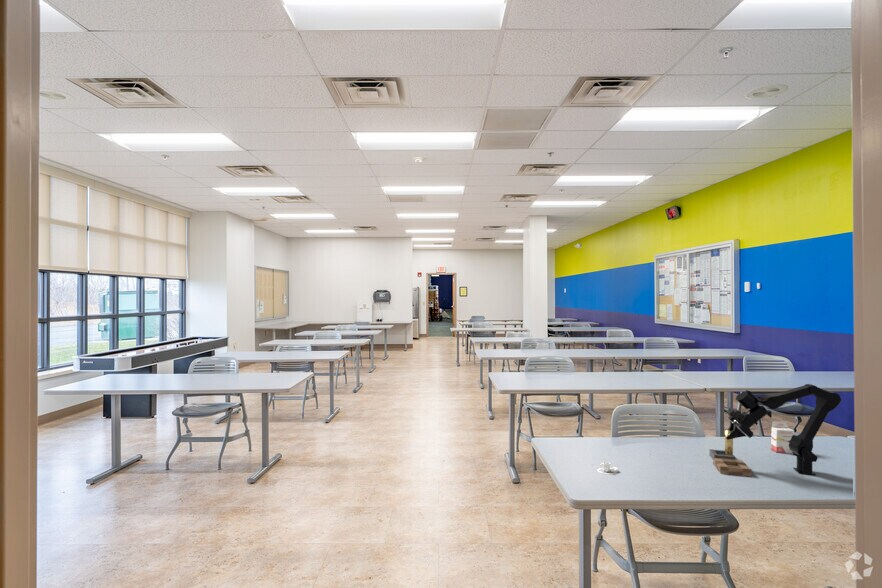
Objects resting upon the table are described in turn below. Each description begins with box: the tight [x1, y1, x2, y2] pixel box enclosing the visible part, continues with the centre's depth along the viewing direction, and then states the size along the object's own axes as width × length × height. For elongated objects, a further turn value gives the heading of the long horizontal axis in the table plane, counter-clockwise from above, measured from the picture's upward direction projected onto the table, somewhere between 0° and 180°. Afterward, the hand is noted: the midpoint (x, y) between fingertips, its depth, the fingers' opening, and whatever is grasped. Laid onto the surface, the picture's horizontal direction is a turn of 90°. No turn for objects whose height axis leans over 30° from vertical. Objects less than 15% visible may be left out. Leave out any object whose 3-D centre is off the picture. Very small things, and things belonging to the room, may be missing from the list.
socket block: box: [709, 448, 737, 460], centre depth 231 cm, size 9×9×3 cm
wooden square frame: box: [712, 458, 752, 477], centre depth 217 cm, size 12×12×3 cm
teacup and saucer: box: [596, 461, 619, 475], centre depth 215 cm, size 9×8×4 cm
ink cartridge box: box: [770, 421, 795, 454], centre depth 243 cm, size 9×5×15 cm, turn 84°
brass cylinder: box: [724, 429, 734, 456], centre depth 220 cm, size 3×3×11 cm
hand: (725, 437), depth 221 cm, fingers closed on brass cylinder, 3 cm apart
